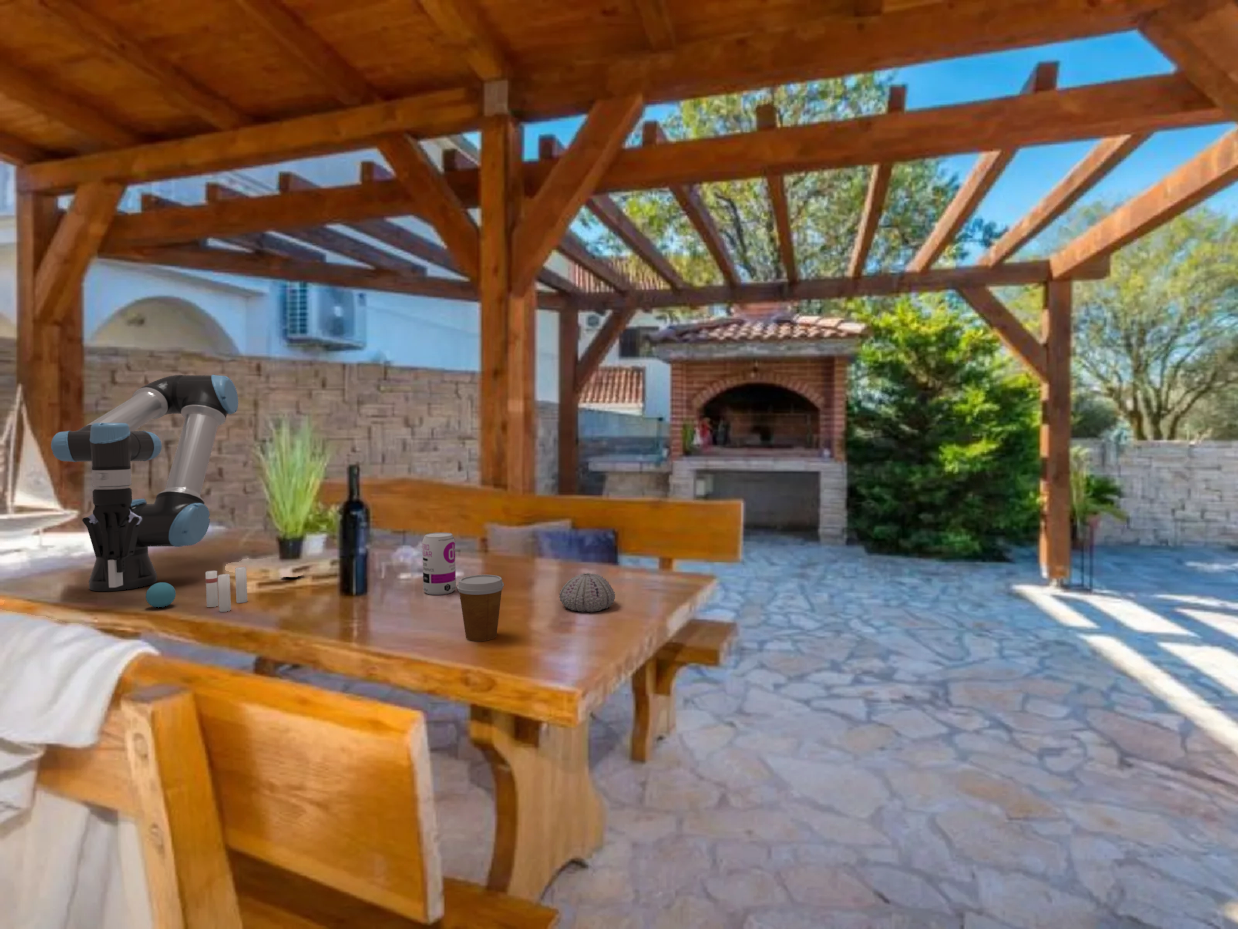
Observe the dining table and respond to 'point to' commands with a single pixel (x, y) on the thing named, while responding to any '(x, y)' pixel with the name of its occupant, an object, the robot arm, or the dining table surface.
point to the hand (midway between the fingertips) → (116, 586)
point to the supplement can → (439, 563)
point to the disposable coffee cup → (480, 605)
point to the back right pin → (224, 592)
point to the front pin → (211, 588)
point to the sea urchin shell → (587, 593)
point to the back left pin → (241, 584)
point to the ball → (160, 594)
